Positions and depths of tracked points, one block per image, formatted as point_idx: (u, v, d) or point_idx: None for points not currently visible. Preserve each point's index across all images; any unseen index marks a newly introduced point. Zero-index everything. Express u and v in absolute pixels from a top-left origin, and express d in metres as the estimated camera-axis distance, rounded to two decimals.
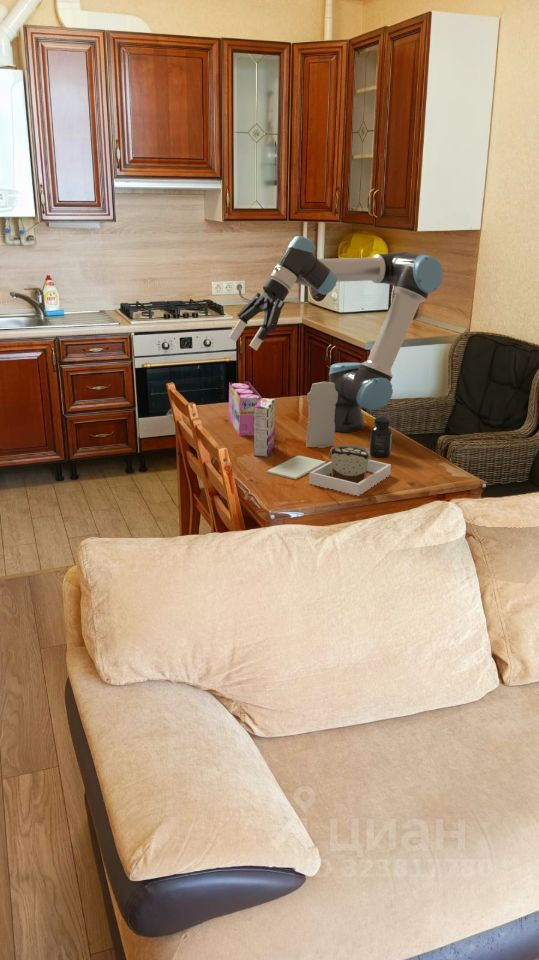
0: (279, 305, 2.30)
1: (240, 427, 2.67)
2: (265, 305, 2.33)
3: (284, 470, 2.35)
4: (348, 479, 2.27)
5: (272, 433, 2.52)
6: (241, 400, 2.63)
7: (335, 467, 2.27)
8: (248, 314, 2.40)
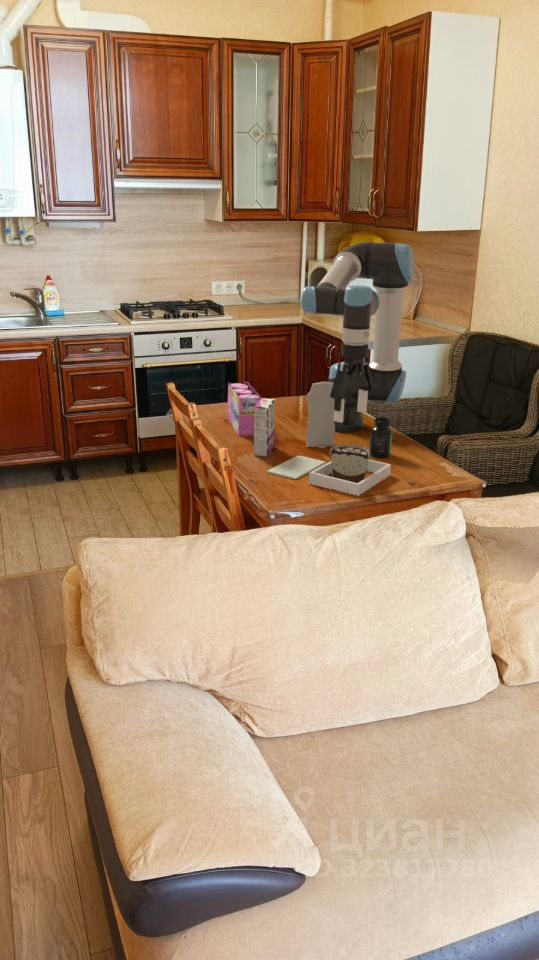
0: None
1: (240, 427, 2.67)
2: (363, 371, 2.21)
3: (284, 470, 2.35)
4: (348, 479, 2.27)
5: (272, 433, 2.52)
6: (241, 400, 2.63)
7: (335, 467, 2.27)
8: None
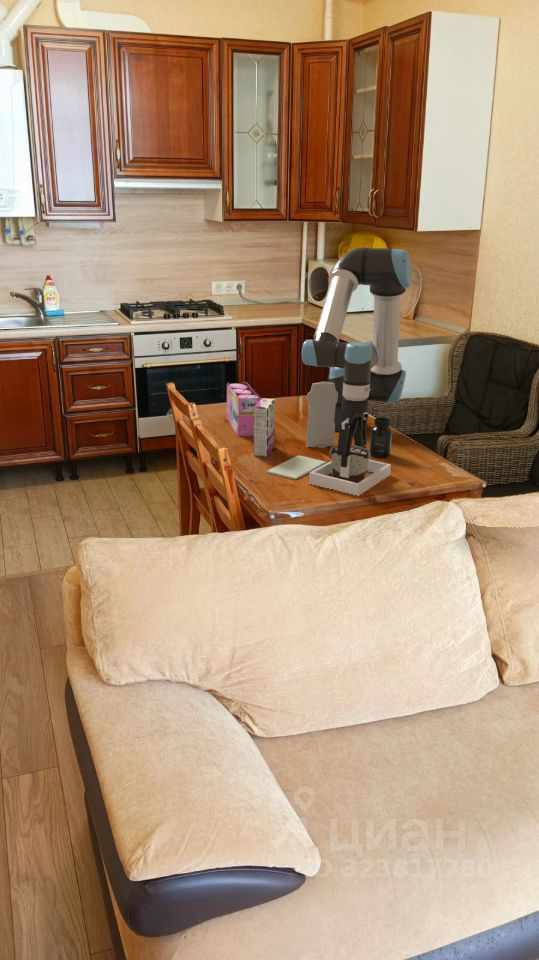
0: None
1: (239, 427, 2.66)
2: (362, 426, 2.25)
3: (284, 470, 2.35)
4: (348, 479, 2.27)
5: (272, 433, 2.52)
6: (240, 400, 2.63)
7: (335, 467, 2.27)
8: None
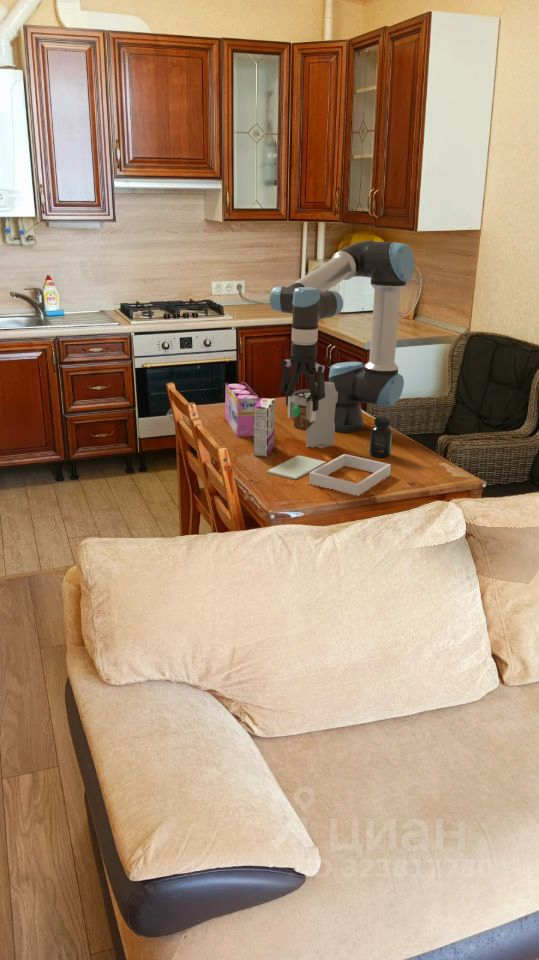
0: None
1: (238, 428, 2.66)
2: None
3: (284, 470, 2.35)
4: (310, 422, 2.32)
5: (272, 433, 2.52)
6: (239, 401, 2.63)
7: (307, 416, 2.28)
8: None
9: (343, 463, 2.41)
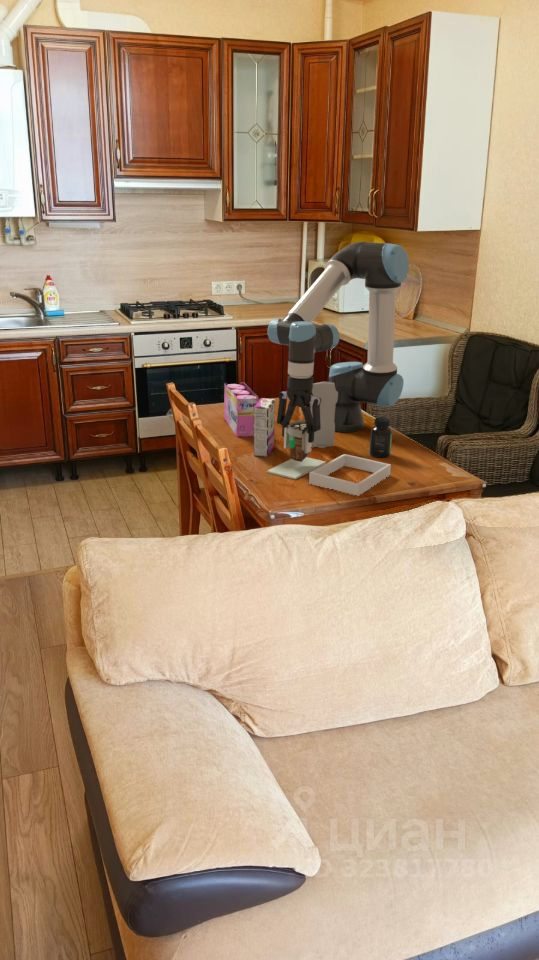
0: None
1: (238, 428, 2.66)
2: None
3: (284, 470, 2.35)
4: (306, 453, 2.36)
5: (272, 433, 2.52)
6: (239, 401, 2.62)
7: (302, 447, 2.31)
8: None
9: (343, 463, 2.41)
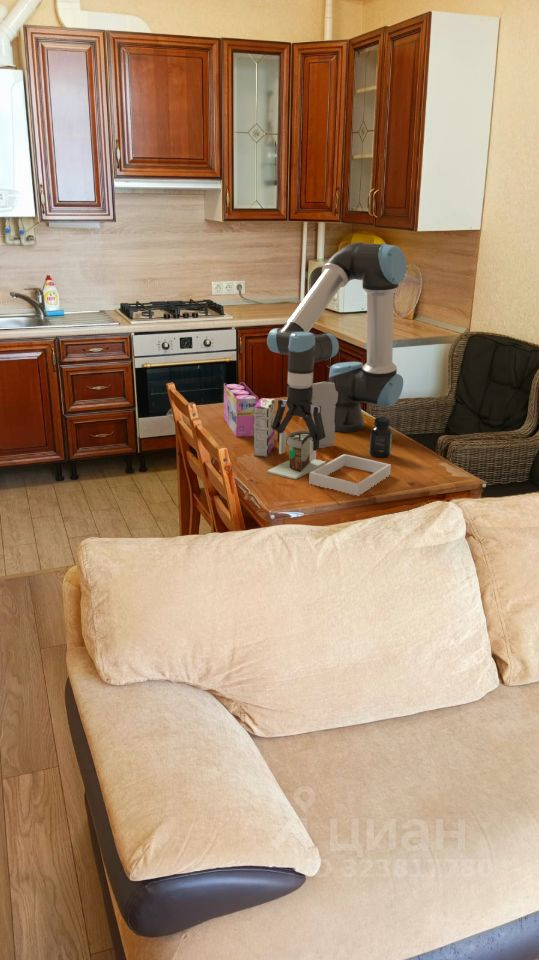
0: None
1: (237, 428, 2.66)
2: None
3: (284, 470, 2.35)
4: (305, 463, 2.37)
5: (272, 433, 2.52)
6: (238, 401, 2.62)
7: (302, 457, 2.33)
8: None
9: (343, 463, 2.41)
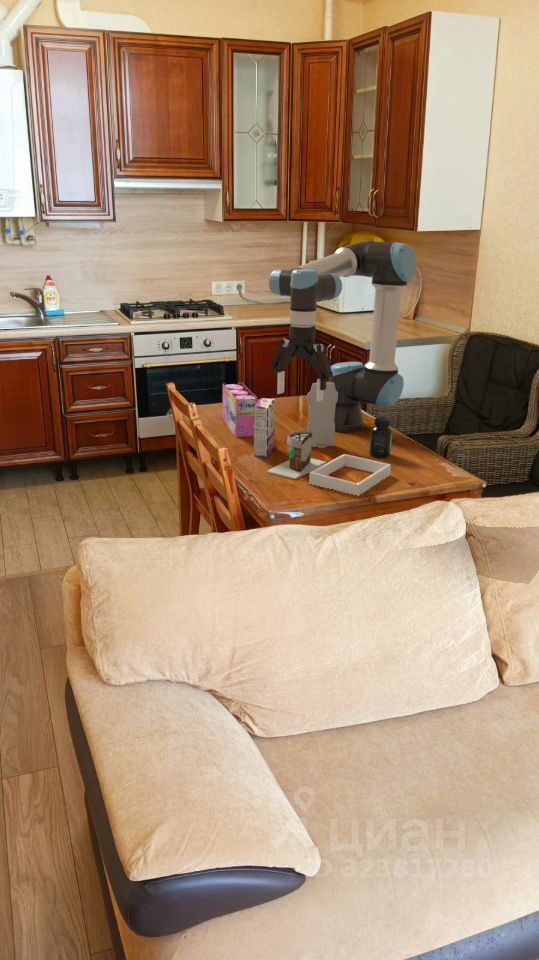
0: None
1: (236, 428, 2.65)
2: None
3: (284, 470, 2.35)
4: (305, 463, 2.37)
5: (272, 433, 2.52)
6: (237, 401, 2.62)
7: (302, 457, 2.33)
8: None
9: (343, 463, 2.41)
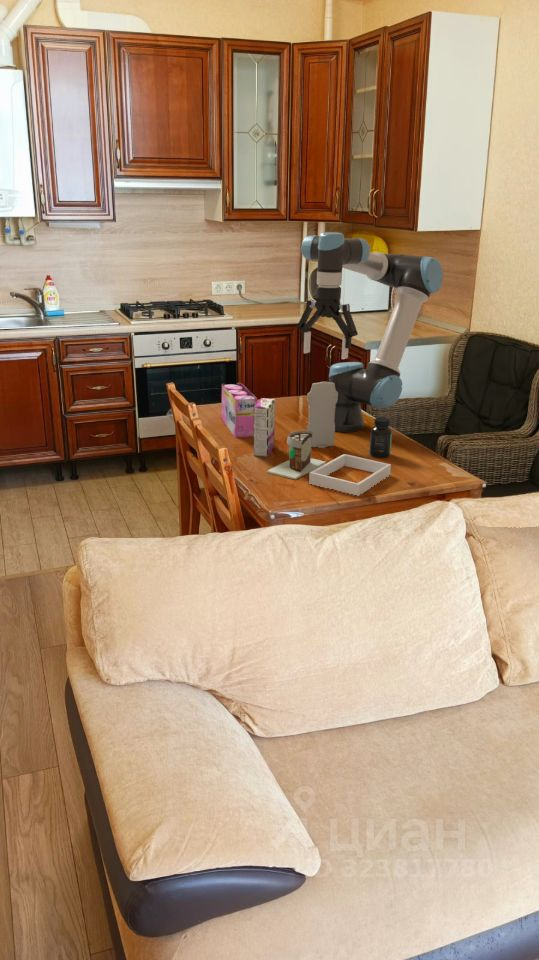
0: None
1: (236, 429, 2.65)
2: None
3: (284, 470, 2.35)
4: (305, 463, 2.37)
5: (272, 433, 2.52)
6: (237, 401, 2.62)
7: (302, 457, 2.33)
8: None
9: (343, 463, 2.41)
